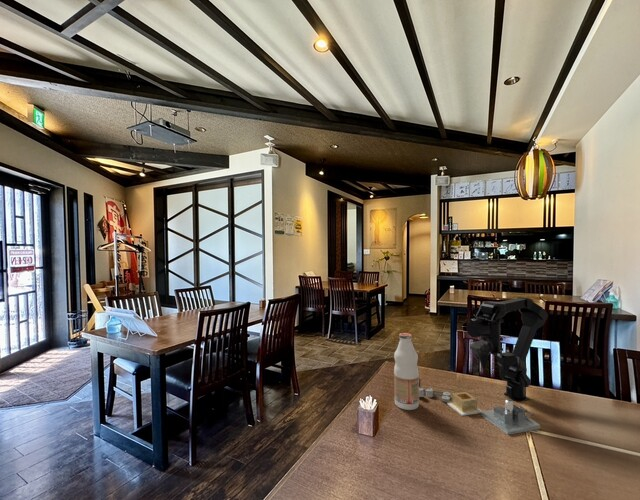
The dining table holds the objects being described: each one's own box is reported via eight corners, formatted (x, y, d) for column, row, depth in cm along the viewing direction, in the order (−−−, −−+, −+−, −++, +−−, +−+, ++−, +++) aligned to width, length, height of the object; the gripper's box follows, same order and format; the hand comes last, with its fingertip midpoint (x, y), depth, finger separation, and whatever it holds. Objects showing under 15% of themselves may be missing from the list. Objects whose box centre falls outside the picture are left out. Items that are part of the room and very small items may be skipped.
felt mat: (466, 400, 124) (466, 399, 124) (482, 412, 115) (482, 411, 115) (446, 403, 122) (446, 402, 122) (461, 415, 113) (461, 414, 113)
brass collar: (465, 401, 122) (465, 391, 122) (477, 409, 116) (477, 399, 116) (451, 403, 121) (451, 393, 121) (462, 412, 115) (462, 401, 115)
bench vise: (513, 410, 116) (513, 390, 116) (542, 428, 104) (542, 406, 104) (481, 415, 113) (480, 395, 113) (507, 434, 101) (507, 412, 101)
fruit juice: (395, 409, 118) (393, 337, 118) (394, 397, 127) (392, 330, 127) (420, 411, 116) (419, 338, 116) (417, 399, 126) (416, 331, 125)
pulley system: (427, 411, 118) (457, 401, 124) (426, 399, 118) (456, 389, 124) (387, 385, 144) (413, 377, 149) (386, 375, 144) (412, 368, 149)
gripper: (458, 329, 128) (459, 366, 128) (492, 343, 110) (493, 386, 110) (481, 327, 131) (482, 364, 131) (518, 340, 112) (519, 382, 113)
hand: (492, 373), depth 121 cm, fingers open, 9 cm apart
